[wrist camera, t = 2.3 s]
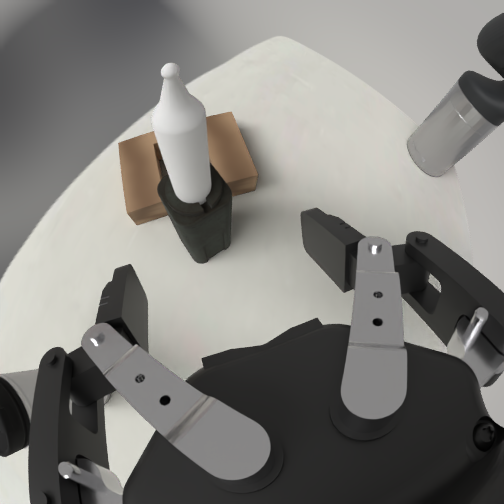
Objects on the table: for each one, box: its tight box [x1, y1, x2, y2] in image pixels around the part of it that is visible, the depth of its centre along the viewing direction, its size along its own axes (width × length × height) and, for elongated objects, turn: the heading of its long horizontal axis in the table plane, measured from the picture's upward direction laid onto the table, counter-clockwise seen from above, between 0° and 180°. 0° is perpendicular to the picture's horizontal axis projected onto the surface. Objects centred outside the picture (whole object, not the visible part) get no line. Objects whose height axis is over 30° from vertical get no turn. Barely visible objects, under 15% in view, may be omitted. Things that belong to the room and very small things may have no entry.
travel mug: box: [0, 369, 110, 457], centre depth 18 cm, size 6×7×20 cm
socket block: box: [118, 112, 258, 225], centre depth 34 cm, size 16×11×4 cm
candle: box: [151, 63, 232, 263], centre depth 21 cm, size 5×5×25 cm
